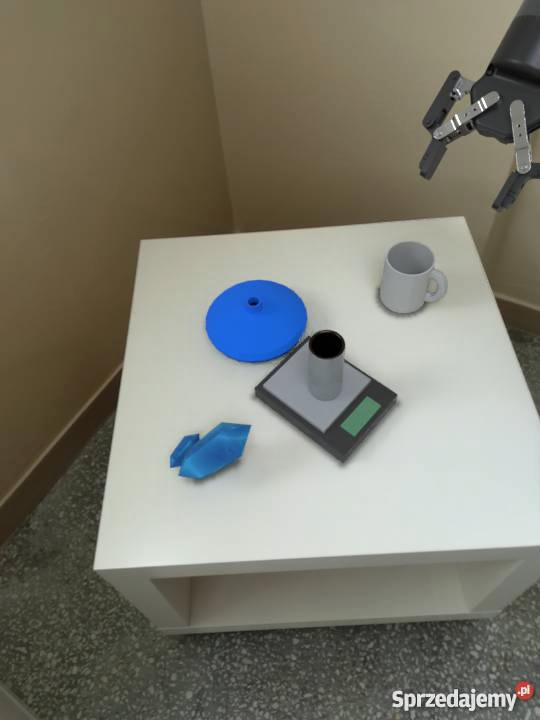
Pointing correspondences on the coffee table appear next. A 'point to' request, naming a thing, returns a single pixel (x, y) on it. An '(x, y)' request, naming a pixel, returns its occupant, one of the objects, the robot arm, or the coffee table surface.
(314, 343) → the grey cylindrical tube
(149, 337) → the coffee table surface
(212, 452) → the crystal
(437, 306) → the coffee table surface
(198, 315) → the coffee table surface
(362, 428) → the scale
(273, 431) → the coffee table surface
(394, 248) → the cup
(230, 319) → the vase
